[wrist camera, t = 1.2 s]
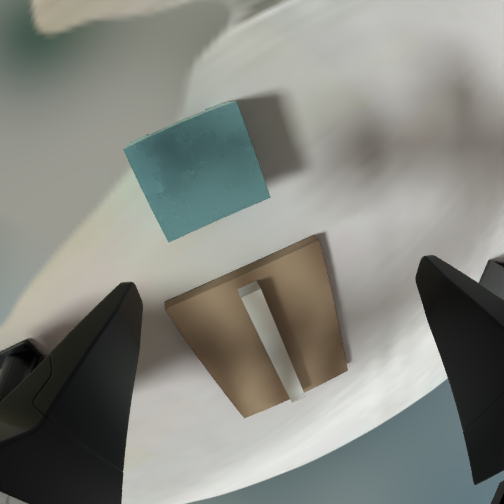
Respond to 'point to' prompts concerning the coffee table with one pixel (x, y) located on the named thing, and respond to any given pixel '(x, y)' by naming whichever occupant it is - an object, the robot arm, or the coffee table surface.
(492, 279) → the phone stand
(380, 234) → the coffee table surface
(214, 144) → the block
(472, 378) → the robot arm
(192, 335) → the rail plate
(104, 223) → the coffee table surface
